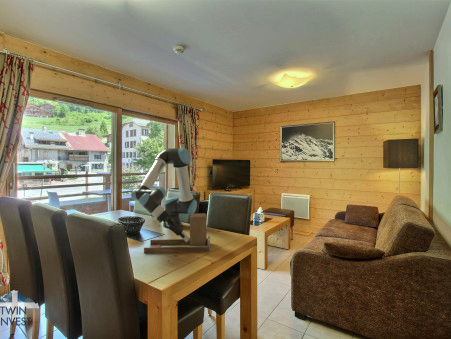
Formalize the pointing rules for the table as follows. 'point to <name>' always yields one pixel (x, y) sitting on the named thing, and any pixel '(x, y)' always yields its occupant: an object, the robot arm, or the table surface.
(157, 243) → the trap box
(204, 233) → the wooden block
